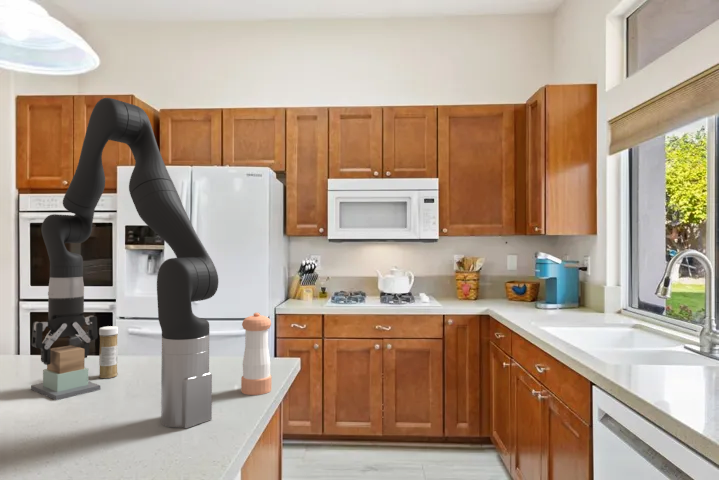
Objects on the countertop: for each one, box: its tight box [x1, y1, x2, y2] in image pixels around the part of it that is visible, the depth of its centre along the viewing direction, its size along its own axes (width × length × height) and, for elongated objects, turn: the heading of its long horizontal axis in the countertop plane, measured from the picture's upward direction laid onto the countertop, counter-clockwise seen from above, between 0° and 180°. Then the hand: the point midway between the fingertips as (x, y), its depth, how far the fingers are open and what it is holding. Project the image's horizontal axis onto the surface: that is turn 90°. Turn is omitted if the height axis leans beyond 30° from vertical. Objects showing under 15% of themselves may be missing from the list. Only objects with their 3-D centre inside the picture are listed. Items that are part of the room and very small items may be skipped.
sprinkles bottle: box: [98, 325, 119, 379], centre depth 130 cm, size 5×5×14 cm
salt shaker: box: [240, 312, 273, 396], centre depth 118 cm, size 7×7×19 cm
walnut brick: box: [46, 344, 86, 374], centre depth 118 cm, size 7×6×5 cm
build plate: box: [30, 366, 101, 401], centre depth 118 cm, size 14×10×5 cm
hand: (65, 360), depth 118 cm, fingers open, 8 cm apart
